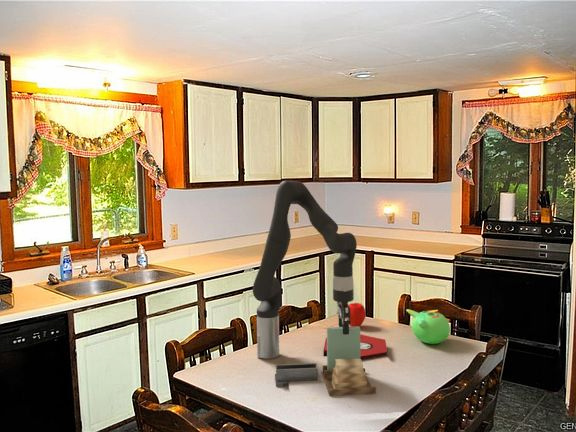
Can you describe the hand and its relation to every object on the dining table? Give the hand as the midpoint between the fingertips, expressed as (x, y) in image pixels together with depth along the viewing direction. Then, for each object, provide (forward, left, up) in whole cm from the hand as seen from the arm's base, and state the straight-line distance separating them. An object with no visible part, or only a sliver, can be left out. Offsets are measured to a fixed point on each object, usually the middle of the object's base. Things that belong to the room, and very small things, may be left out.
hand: (343, 330), depth 195 cm
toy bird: (+45, +36, -19) cm, 61 cm away
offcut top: (0, -11, -11) cm, 15 cm away
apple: (+17, +62, -19) cm, 67 cm away
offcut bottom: (0, -11, -17) cm, 20 cm away
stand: (-18, 0, -19) cm, 25 cm away
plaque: (+10, +28, -19) cm, 35 cm away
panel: (0, 0, -17) cm, 17 cm away
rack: (0, -7, -18) cm, 20 cm away
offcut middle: (0, -11, -14) cm, 18 cm away
